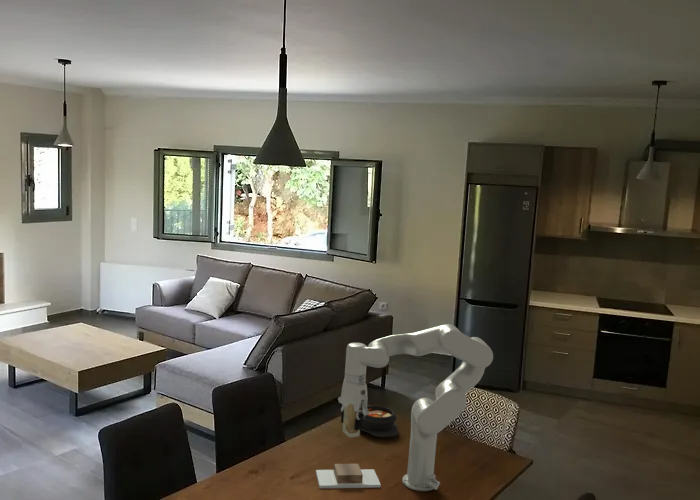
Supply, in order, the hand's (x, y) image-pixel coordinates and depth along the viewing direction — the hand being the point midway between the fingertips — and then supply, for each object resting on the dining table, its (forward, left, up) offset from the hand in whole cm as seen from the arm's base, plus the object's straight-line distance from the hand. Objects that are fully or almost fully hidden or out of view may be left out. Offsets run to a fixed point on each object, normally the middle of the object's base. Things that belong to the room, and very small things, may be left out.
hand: (351, 425), depth 226 cm
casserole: (+30, -41, -21) cm, 55 cm away
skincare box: (0, 0, -3) cm, 3 cm away
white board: (0, 0, -21) cm, 21 cm away
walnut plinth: (0, 0, -21) cm, 21 cm away
